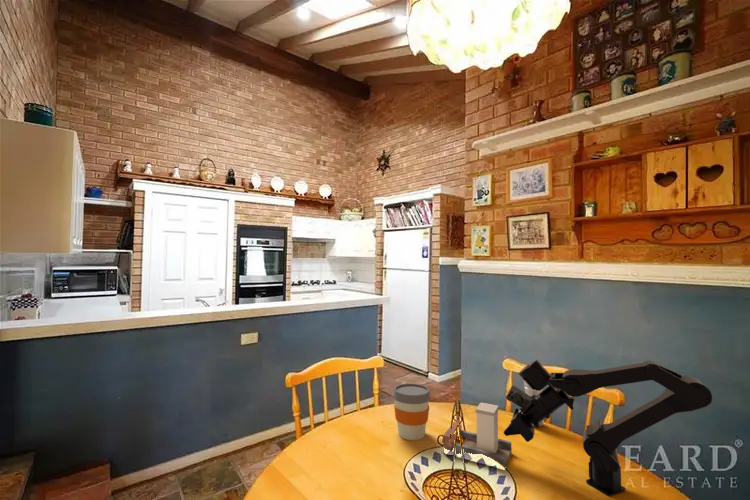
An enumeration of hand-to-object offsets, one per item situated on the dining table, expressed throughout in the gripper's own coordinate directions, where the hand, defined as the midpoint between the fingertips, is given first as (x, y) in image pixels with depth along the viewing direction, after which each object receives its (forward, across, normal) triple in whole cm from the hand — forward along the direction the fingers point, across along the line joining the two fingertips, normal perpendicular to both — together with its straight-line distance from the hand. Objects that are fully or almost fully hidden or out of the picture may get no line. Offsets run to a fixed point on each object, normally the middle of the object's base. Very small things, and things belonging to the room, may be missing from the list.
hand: (504, 433), depth 106 cm
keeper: (+8, 0, +1) cm, 8 cm away
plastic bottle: (+2, -31, +9) cm, 32 cm away
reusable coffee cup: (+28, -2, -16) cm, 32 cm away
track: (+11, 0, 0) cm, 11 cm away
